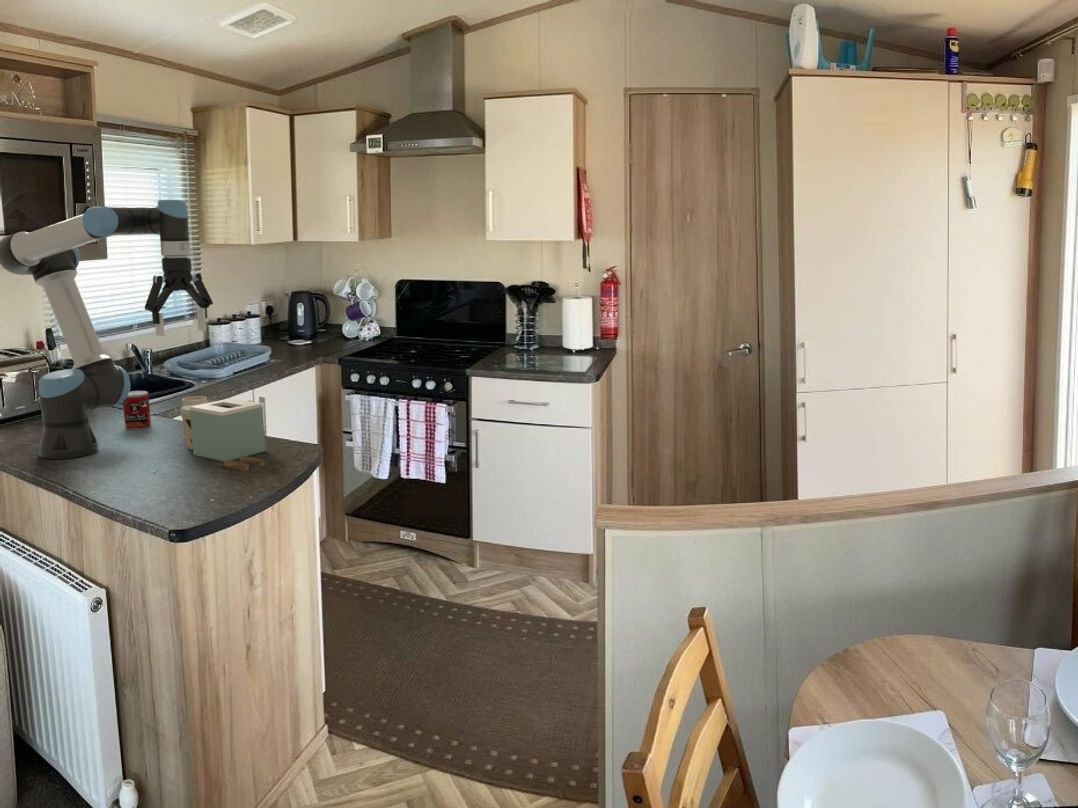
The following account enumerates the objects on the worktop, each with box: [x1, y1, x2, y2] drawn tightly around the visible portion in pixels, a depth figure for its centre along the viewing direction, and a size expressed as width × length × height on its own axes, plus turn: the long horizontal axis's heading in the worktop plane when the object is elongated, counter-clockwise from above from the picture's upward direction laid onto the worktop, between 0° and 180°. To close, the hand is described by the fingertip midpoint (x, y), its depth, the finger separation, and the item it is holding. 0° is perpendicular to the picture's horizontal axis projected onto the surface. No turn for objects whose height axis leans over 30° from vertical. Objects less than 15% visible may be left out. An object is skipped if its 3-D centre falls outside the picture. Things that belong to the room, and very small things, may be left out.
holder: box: [223, 456, 266, 472], centre depth 248 cm, size 7×8×2 cm
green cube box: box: [190, 397, 266, 462], centre depth 261 cm, size 14×14×14 cm
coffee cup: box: [180, 404, 200, 450], centre depth 268 cm, size 9×9×12 cm
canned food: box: [122, 390, 152, 429], centre depth 295 cm, size 8×8×11 cm
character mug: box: [180, 395, 209, 418], centre depth 275 cm, size 11×7×13 cm, turn 156°
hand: (181, 333), depth 257 cm, fingers open, 13 cm apart
